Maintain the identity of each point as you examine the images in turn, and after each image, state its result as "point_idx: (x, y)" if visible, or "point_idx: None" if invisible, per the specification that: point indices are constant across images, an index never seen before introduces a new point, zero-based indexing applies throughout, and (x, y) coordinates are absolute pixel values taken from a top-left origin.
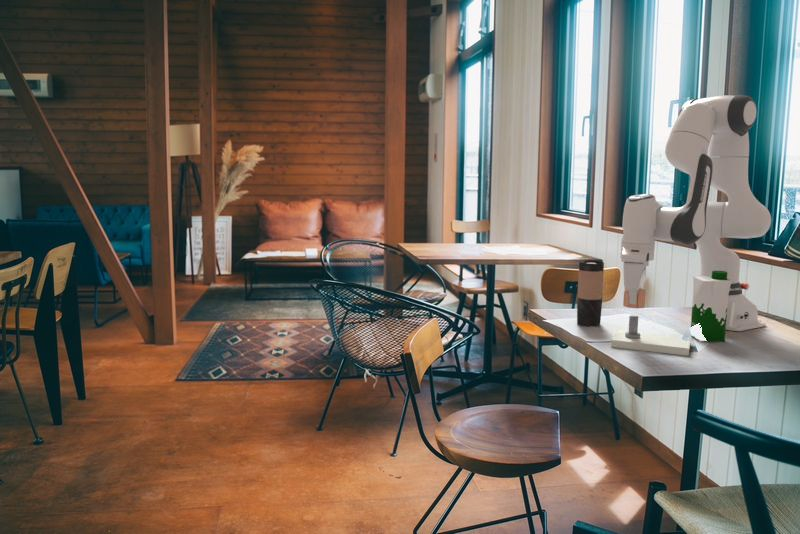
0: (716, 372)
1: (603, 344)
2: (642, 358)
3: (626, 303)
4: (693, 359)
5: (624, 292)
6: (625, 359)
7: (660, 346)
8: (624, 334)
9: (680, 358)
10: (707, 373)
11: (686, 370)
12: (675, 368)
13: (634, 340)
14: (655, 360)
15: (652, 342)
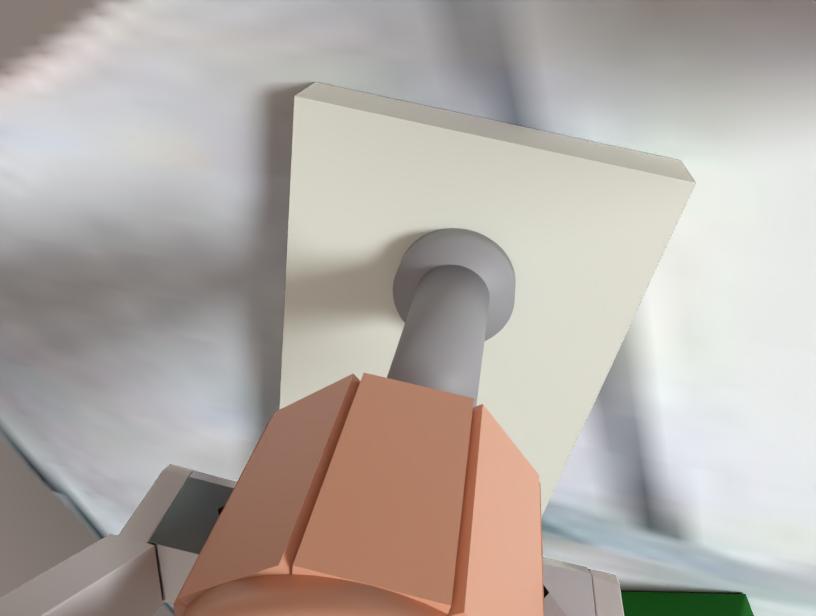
0: (80, 500)
1: (377, 16)
2: (118, 265)
3: (287, 432)
4: (233, 480)
5: (276, 562)
6: (36, 162)
7: (281, 401)
8: (530, 230)
9: (222, 438)
10: (45, 471)
11: (34, 414)
12: (35, 381)
13: (343, 279)
14: (118, 324)
15: (331, 378)
